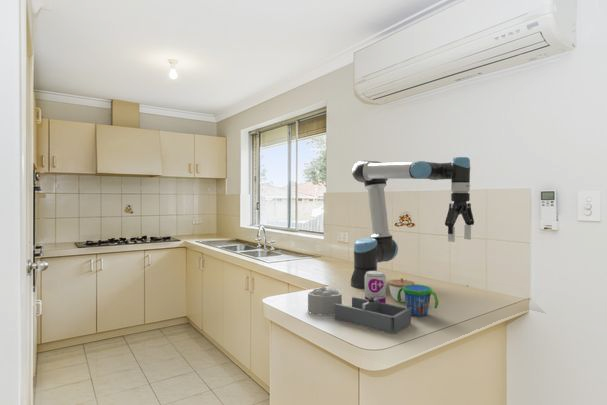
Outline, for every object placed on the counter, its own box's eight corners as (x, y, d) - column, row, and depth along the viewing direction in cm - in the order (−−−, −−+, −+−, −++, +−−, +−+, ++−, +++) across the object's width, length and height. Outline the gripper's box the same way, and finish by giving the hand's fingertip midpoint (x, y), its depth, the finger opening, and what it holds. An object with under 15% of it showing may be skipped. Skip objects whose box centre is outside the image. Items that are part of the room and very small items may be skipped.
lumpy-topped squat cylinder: (343, 313, 143) (343, 291, 143) (310, 316, 141) (310, 293, 140) (336, 306, 153) (336, 285, 153) (305, 307, 151) (305, 286, 151)
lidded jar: (415, 297, 165) (415, 276, 165) (414, 304, 155) (414, 282, 155) (390, 295, 169) (390, 275, 168) (388, 302, 158) (388, 280, 158)
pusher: (361, 320, 131) (361, 300, 131) (375, 313, 139) (375, 294, 139) (366, 321, 130) (366, 301, 130) (380, 314, 137) (380, 295, 137)
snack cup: (392, 312, 145) (392, 286, 144) (406, 306, 152) (406, 281, 152) (429, 321, 133) (429, 293, 133) (442, 315, 141) (443, 288, 141)
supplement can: (385, 313, 143) (385, 275, 143) (364, 312, 145) (364, 274, 144) (385, 307, 151) (385, 270, 151) (365, 306, 153) (365, 270, 152)
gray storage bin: (334, 318, 137) (334, 304, 137) (353, 310, 147) (353, 296, 147) (394, 334, 121) (394, 317, 121) (410, 323, 131) (411, 308, 131)
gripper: (453, 192, 152) (452, 243, 153) (482, 192, 168) (481, 239, 168) (436, 192, 158) (436, 241, 159) (466, 192, 173) (466, 237, 174)
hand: (459, 240), depth 163 cm, fingers open, 13 cm apart
